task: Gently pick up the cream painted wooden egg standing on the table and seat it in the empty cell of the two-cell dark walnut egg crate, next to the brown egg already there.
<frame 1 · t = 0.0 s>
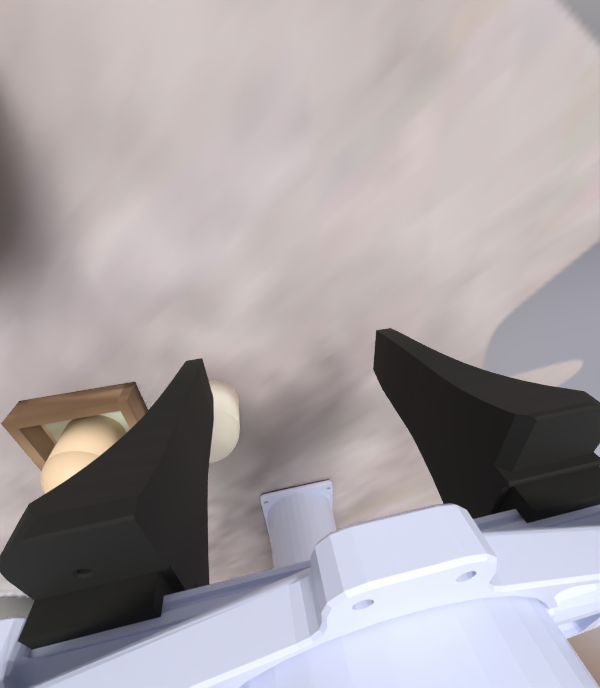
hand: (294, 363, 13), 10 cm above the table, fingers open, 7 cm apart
egg crate: (116, 454, 27), on the table
brown egg: (96, 434, 25), resting on egg crate
cream egg: (211, 400, 26), on the table
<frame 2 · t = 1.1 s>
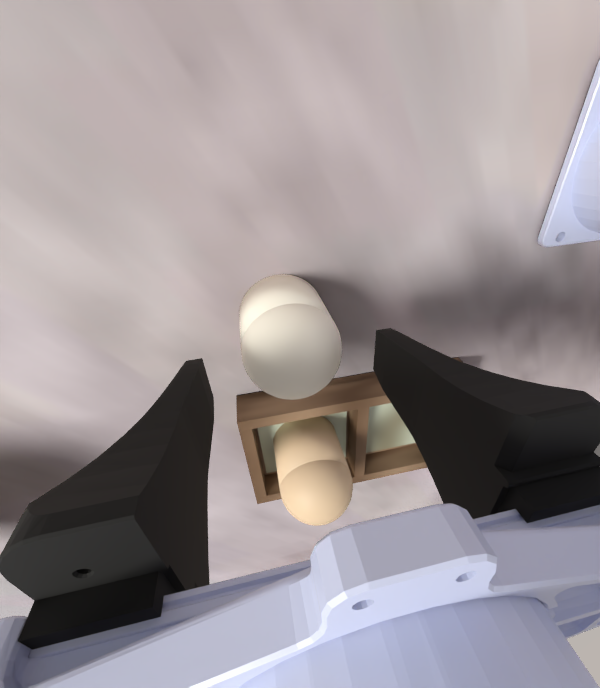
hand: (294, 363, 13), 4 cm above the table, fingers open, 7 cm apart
egg crate: (350, 420, 22), on the table
brown egg: (304, 437, 21), resting on egg crate
cream egg: (281, 314, 17), on the table
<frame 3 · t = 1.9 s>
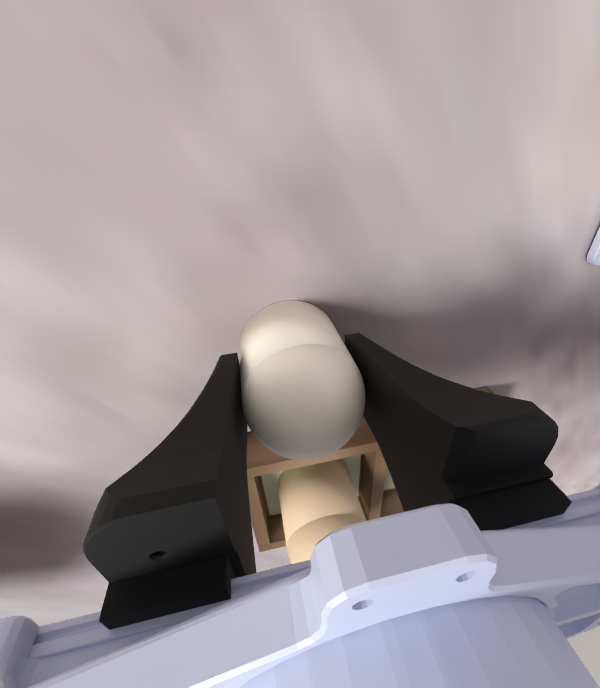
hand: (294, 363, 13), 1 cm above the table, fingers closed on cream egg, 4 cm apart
egg crate: (364, 455, 20), on the table
brown egg: (312, 478, 19), resting on egg crate
cream egg: (288, 345, 14), on the table, touching gripper
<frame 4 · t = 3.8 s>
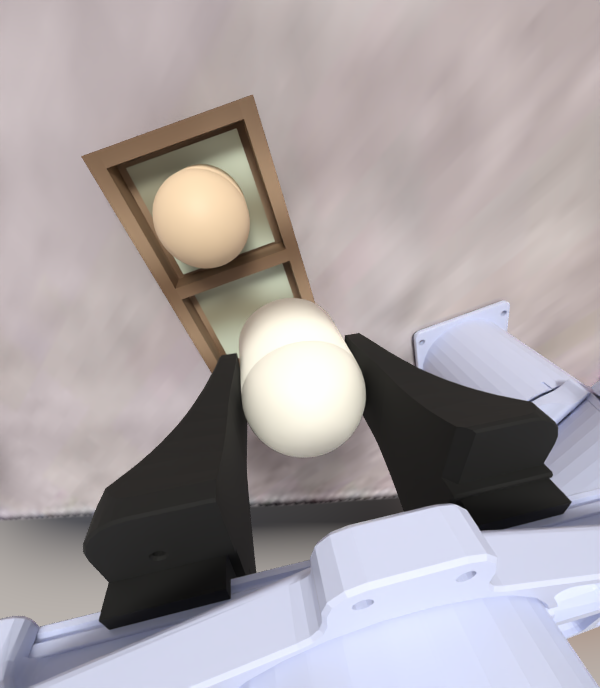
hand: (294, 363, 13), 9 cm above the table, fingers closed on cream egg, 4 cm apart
egg crate: (232, 262, 20), on the table
brown egg: (207, 208, 17), resting on egg crate
cream egg: (288, 343, 14), point 8 cm above the table, touching gripper
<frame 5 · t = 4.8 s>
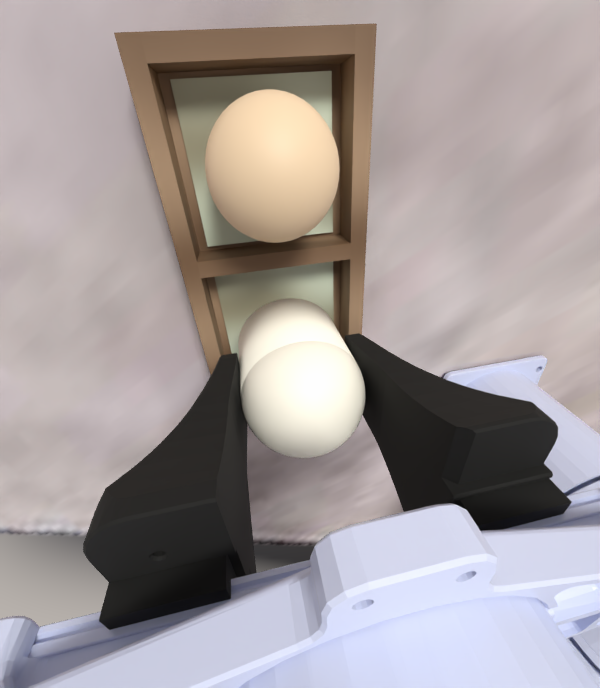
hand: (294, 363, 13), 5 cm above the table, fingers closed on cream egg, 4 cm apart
egg crate: (271, 246, 15), on the table
brown egg: (263, 167, 13), resting on egg crate
cream egg: (288, 343, 14), point 4 cm above the table, touching gripper
when the fingers open (3 cm above the table, at t = 5.7 s): cream egg stays where it is, resting on egg crate.
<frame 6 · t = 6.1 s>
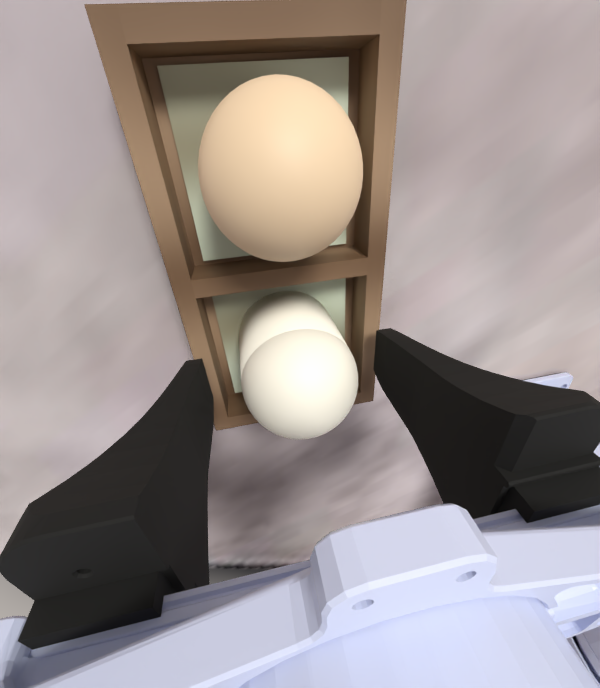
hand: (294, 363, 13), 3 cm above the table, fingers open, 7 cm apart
egg crate: (275, 259, 14), on the table
brown egg: (268, 170, 11), resting on egg crate
cream egg: (286, 334, 15), point 1 cm above the table, touching egg crate
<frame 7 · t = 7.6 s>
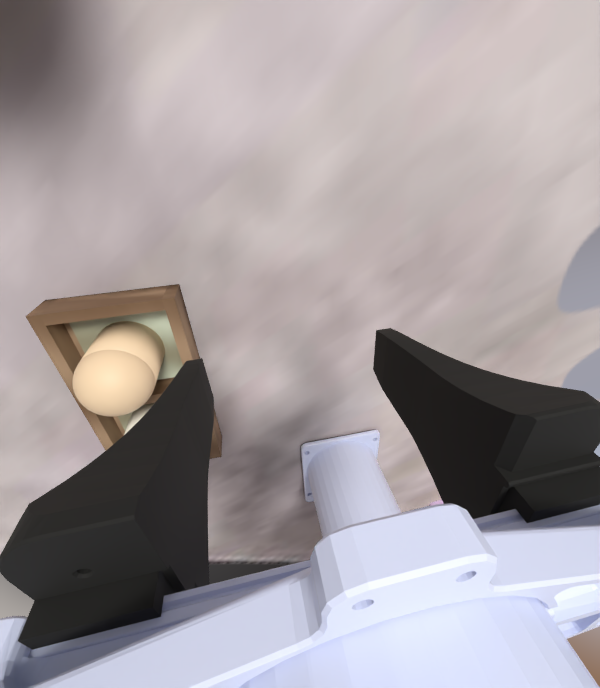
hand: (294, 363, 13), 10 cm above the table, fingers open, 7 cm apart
egg crate: (149, 381, 24), on the table
brown egg: (131, 348, 21), resting on egg crate
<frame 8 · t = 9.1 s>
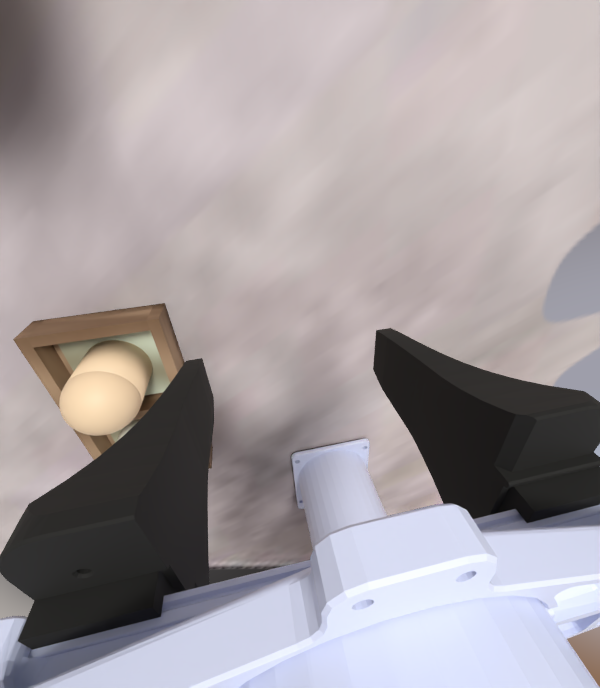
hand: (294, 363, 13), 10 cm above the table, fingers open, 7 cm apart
egg crate: (139, 395, 24), on the table
brown egg: (119, 366, 22), resting on egg crate
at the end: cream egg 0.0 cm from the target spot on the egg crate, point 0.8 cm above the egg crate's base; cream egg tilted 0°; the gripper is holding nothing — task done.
